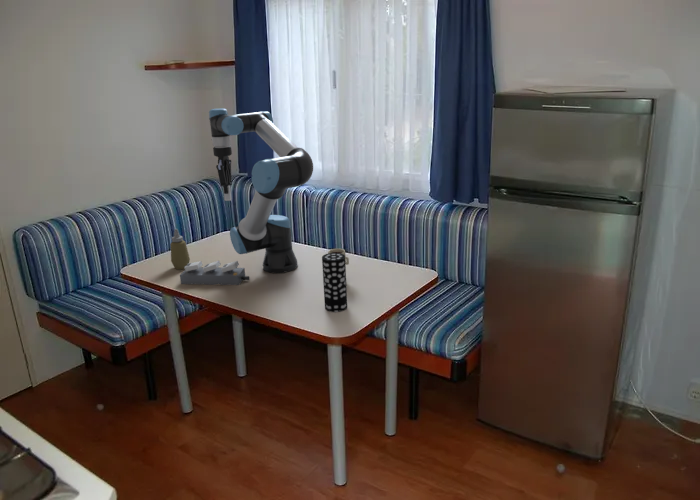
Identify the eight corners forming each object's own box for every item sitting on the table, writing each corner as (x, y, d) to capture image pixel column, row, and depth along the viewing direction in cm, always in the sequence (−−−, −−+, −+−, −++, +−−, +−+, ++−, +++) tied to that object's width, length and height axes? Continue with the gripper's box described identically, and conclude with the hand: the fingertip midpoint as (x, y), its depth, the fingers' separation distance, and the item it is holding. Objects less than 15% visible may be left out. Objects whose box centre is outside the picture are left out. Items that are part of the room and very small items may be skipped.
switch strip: (252, 276, 248) (251, 265, 246) (245, 284, 240) (244, 273, 238) (189, 275, 252) (187, 264, 250) (181, 283, 244) (179, 272, 242)
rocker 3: (239, 264, 245) (237, 260, 244) (235, 268, 240) (234, 264, 240) (226, 268, 246) (224, 264, 245) (222, 272, 242) (221, 268, 241)
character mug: (353, 280, 240) (352, 250, 236) (345, 286, 234) (343, 256, 230) (331, 275, 245) (329, 246, 241) (322, 282, 240) (320, 252, 235)
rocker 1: (202, 264, 247) (201, 260, 246) (198, 268, 243) (197, 264, 242) (189, 267, 248) (188, 263, 248) (185, 271, 244) (184, 267, 243)
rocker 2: (220, 264, 246) (219, 260, 245) (217, 268, 241) (215, 264, 241) (208, 268, 247) (206, 264, 247) (204, 272, 243) (202, 268, 242)
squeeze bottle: (185, 271, 257) (180, 232, 251) (169, 270, 259) (163, 232, 253) (193, 264, 265) (188, 226, 259) (177, 264, 266) (172, 226, 260)
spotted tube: (347, 302, 220) (344, 252, 214) (347, 311, 212) (345, 260, 206) (325, 303, 220) (322, 253, 213) (324, 312, 212) (321, 261, 206)
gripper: (218, 143, 253) (224, 196, 261) (207, 149, 241) (214, 204, 249) (235, 143, 252) (240, 196, 260) (225, 148, 240) (231, 204, 248)
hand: (228, 200), depth 254 cm, fingers closed
